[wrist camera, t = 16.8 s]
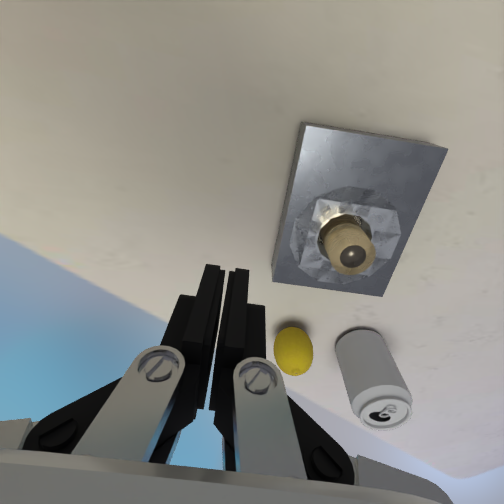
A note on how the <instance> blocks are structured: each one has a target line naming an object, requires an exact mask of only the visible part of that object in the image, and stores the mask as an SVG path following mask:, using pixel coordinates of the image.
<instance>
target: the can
mask: <svg viewBox="0 0 504 504" xmlns="http://www.w3.org/2000/svg"><path fill="white" fill-rule="evenodd" d="M335 352H336V355H337V359H338V362H339V366H340V369H341V373H342V376H343V380H344V383H345V387H346V390H347V394H348V397H349V401H350V404H351V408H352V411H353V413H354V414H355V415H356V416H357V417H358V418H360V420H361V423H362V424H363V425H364V426H366V427H368V428H370V429H373V430H378V431H386V430H392V429H395V428H398V427H401V426H402V425H404V424H405V423H407V422H408V420H409V419H410V418H411V415H412V408H411V404H412V396H411V394H410V392H409V390H408V388H407V386H406V384H405V382H404V380H403V378H402V376H401V373H400V371H399V369H398V367H397V365H396V363H395V361H394V359H393V357H392V355H391V353H390V351H389V349H388V347H387V345H386V343H385V341H384V339H383V338H382V337H381V335H380V334H378V333H376V332H374V331H370V330H354V331H351V332H349V333H347V334H346V335H344V336H343V337H342V338H341V339H340V340H339V341H338V343H337V345H336V350H335Z"/></svg>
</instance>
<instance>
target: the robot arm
mask: <svg viewBox="0 0 504 504" xmlns="http://www.w3.org/2000/svg"><path fill="white" fill-rule="evenodd" d="M224 277H225V270H220V266H218V265H210V264H206V266H205V270H204V273H203V276H202V279H201V282H200V285H199V289H198V292H197V295H196V296H189V295H180V296H179V298H178V301H177V303H176V306H175V308H174V311H173V313H172V316H171V319H170V321H169V324H168V326H167V329H166V331H165V334H164V336H163V339H162V341H161V344H160V346H154V347H151V348H148V349H146V350H144V351H143V352H141V353H140V354H139V355H138V356H137V357H136V358H135V359H134V361H133V362H132V364H131V365H130V367H129V368H128V370H127V371H126V373H125V374H124V376H123V377H121V378H119V379H117V380H116V381H113V382H112V383H110V384H108V385H106V386H104V387H102V388H100V389H98V390H96V391H94V392H92V393H90V394H88V395H87V396H84V397H82V398H80V399H78V400H77V401H74V402H73V403H71V404H69V405H67V406H65V407H63V408H61V409H59V410H57V411H55V412H53V413H51V414H50V415H48V416H46V417H45V418H43V419H42V420H40V421H37V422H32V421H31V418H27V419H18V420H8V421H0V504H453V502H452V501H451V500H450V498H449V497H448V495H447V494H446V493H445V492H444V491H443V490H442V489H441V488H439V487H438V486H437V485H436V484H434V483H432V482H430V481H429V480H427V479H424V478H421V477H418V476H416V475H413V474H410V473H407V472H404V471H402V470H399V469H396V468H393V467H391V466H388V465H385V464H382V463H380V462H377V461H374V460H371V459H368V458H366V457H363V456H360V455H357V457H356V458H354V457H352V456H349V455H348V454H347V453H346V452H345V451H344V449H343V448H342V447H341V446H340V445H339V444H338V443H337V442H336V441H335V440H334V439H333V438H332V437H331V436H330V435H329V434H328V433H326V432H325V431H324V430H323V429H322V428H321V427H320V426H319V425H318V424H317V423H316V422H315V421H314V420H313V419H312V418H311V417H310V416H309V415H308V414H307V413H306V412H305V411H304V410H303V409H302V408H300V407H299V406H298V405H297V404H296V403H295V402H294V401H293V400H292V399H291V398H290V397H289V396H288V395H287V394H286V389H285V385H284V381H283V377H282V375H281V372H280V370H279V369H278V368H277V367H276V365H274V364H273V363H272V362H270V361H269V360H266V329H265V306H263V305H256V304H249V303H247V299H248V283H249V270H246V269H239V268H236V269H235V272H234V271H230V272H229V277H228V283H227V289H226V295H225V301H224V306H223V312H222V318H221V324H220V329H219V335H218V341H217V348H216V356H215V364H214V372H213V380H212V388H211V396H210V404H209V410H213V411H215V417H214V425H215V426H216V428H217V429H218V430H219V432H220V433H221V434H222V435H223V438H222V453H223V454H222V455H223V470H214V469H205V468H196V467H187V466H177V465H169V463H170V461H171V458H172V456H173V453H174V451H175V448H176V445H177V443H178V440H179V437H180V434H181V430H182V429H183V428H184V427H186V426H187V425H188V424H190V423H191V422H193V419H195V417H196V413H197V409H204V404H205V398H206V393H207V387H208V381H209V376H210V371H211V365H212V360H213V354H214V348H215V343H216V337H217V332H218V325H219V318H220V310H221V301H222V293H223V285H224Z"/></svg>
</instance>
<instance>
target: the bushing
mask: <svg viewBox="0 0 504 504" xmlns="http://www.w3.org/2000/svg"><path fill="white" fill-rule="evenodd" d="M319 234H320V237H321V239H322V242H323V244H324V247H325V249H326V252H327V254H328V257H329V259H330V262H331V264H332V266H333V268H334V269H335V270H336V271H337V272H339V273H341V274H344V275H355V274H359V273H361V272H363V271H365V270H366V269H368V268H369V267H370V266H371V265H372V263H373V261H374V259H375V255H376V251H375V247H374V245H373V244H372V242H371V241H370V239H369V238H368V237H367V235H366V234H365V233H364V231H363V230H362V228H361V227H360V226H359V224H358V223H357V221H356V220H355V219H354V217H353V216H352V215H350V214H343V215H340V216H337V217H335V218H332V219H330V220H329V221H328V222H327V223H326V224H325V225H324V226H323V227H322V228H321V229H320V232H319Z"/></svg>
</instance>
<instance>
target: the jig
mask: <svg viewBox="0 0 504 504" xmlns="http://www.w3.org/2000/svg"><path fill="white" fill-rule="evenodd" d="M447 151H448V149H447V148H444V147H441V146H438V145H435V144H432V143H428V142H423V141H417V140H411V139H404V138H398V137H392V136H386V135H380V134H374V133H368V132H362V131H356V130H350V129H344V128H338V127H332V126H325V125H319V124H313V123H307V122H301V126H300V131H299V135H298V140H297V145H296V150H295V154H294V159H293V164H292V169H291V174H290V178H289V183H288V188H287V193H286V197H285V202H284V207H283V212H282V216H281V221H280V226H279V231H278V236H277V240H276V245H275V250H274V255H273V259H272V264H271V267H272V282H278V283H285V284H293V285H300V286H307V287H314V288H322V289H329V290H336V291H343V292H351V293H358V294H365V295H372V296H380V297H382V296H383V294H384V292H385V290H386V287H387V285H388V283H389V281H390V279H391V276H392V274H393V272H394V270H395V267H396V265H397V263H398V261H399V258H400V256H401V254H402V252H403V250H404V247H405V245H406V243H407V241H408V238H409V236H410V234H411V232H412V229H413V227H414V225H415V223H416V220H417V218H418V216H419V214H420V212H421V209H422V207H423V205H424V203H425V200H426V198H427V196H428V194H429V191H430V189H431V187H432V185H433V183H434V180H435V178H436V176H437V174H438V171H439V169H440V167H441V165H442V162H443V160H444V158H445V156H446V153H447ZM343 214H350V215H356V216H360V217H361V221H362V224H361V228H362V230H363V231H364V233H365V234H366V235H367V237H368V238H369V239H370V241H371V242H372V244H373V245H374V247H375V251H376V255H375V259H374V261H373V263H372V265H371V266H370V267H369V268H368V269H366V270H365V271H363V272H361V273H359V274H355V275H344V274H341V273H339V272H337V271H336V270H335V269H334V268H333V266H332V264H331V262H330V259H329V257H328V254H327V252H326V249H325V247H324V245H323V244H321V243H320V242H319V241H318V240H317V239H318V235H319V232H320V229H321V228H322V227H323V226H324V225H325V224H326V223H327V222H328V221H329V220H330V219H332V218H335V217H337V216H340V215H343Z"/></svg>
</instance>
